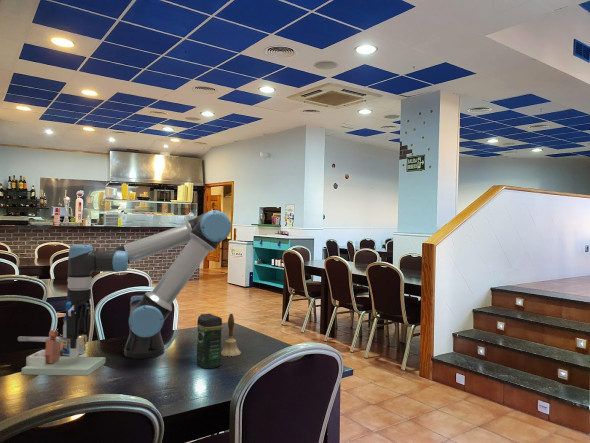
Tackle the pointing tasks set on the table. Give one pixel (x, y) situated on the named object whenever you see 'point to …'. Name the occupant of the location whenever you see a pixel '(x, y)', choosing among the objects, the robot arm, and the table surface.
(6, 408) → the table surface
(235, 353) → the hand bell
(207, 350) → the coffee jar
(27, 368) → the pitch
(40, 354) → the ball
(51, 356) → the player rod
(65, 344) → the beverage bottle
